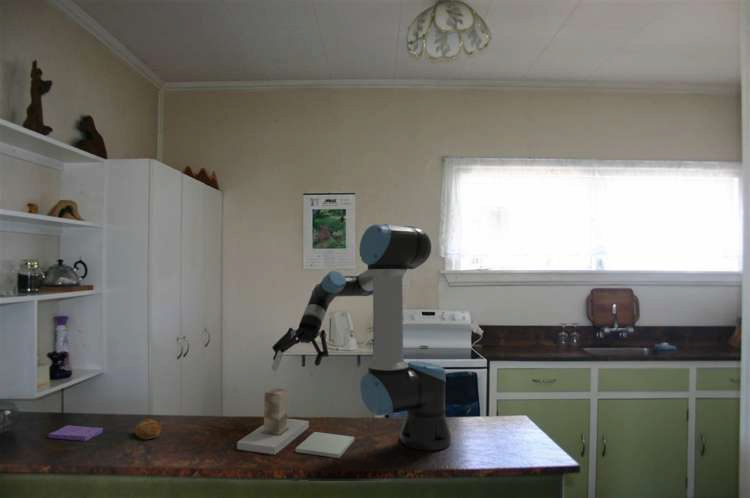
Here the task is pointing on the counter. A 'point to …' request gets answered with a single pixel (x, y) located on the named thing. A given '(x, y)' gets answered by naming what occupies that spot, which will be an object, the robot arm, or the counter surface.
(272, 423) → the peg
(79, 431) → the sponges
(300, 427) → the plate with hole
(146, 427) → the pastry
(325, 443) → the tile
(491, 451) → the counter surface
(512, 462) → the counter surface
